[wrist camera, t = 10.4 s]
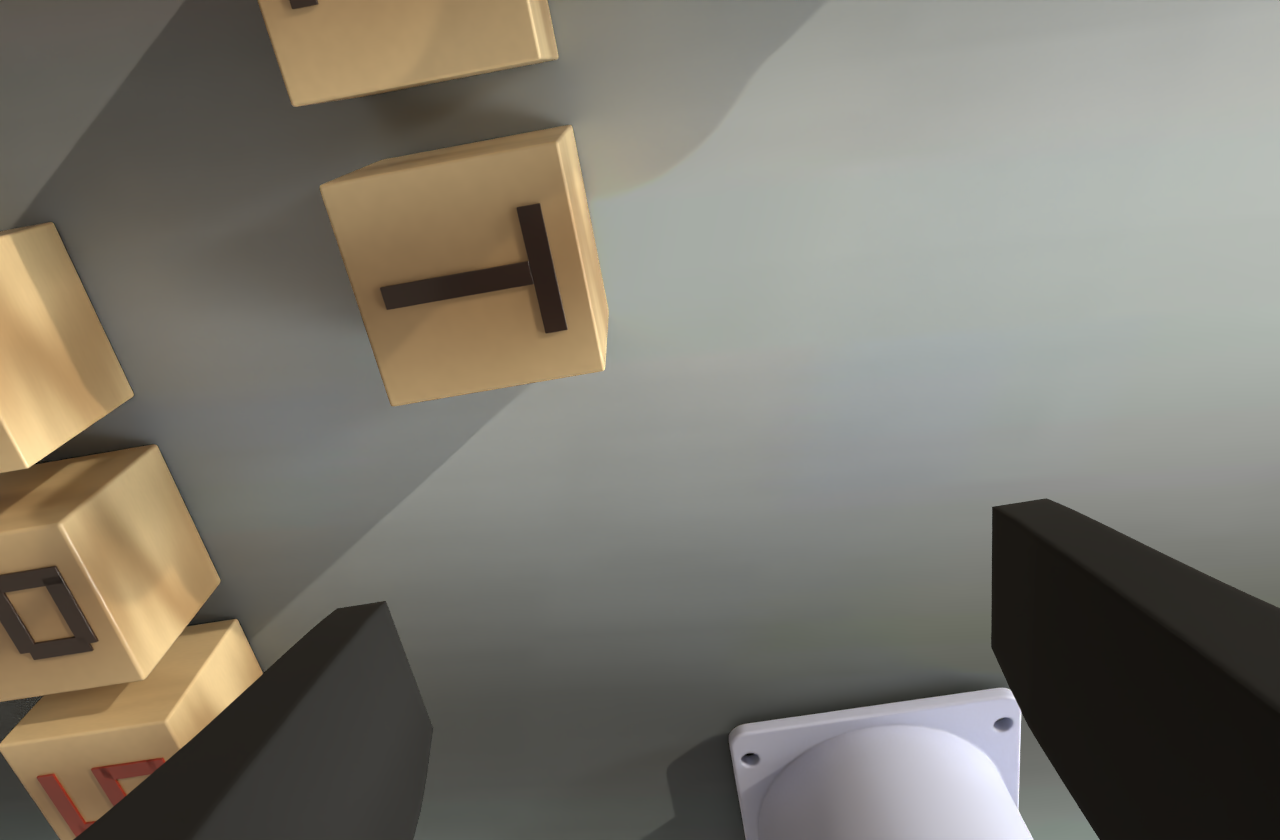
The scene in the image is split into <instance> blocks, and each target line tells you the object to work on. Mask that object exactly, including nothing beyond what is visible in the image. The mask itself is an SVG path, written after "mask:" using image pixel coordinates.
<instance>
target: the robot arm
mask: <svg viewBox="0 0 1280 840" xmlns="http://www.w3.org/2000/svg"><path fill="white" fill-rule="evenodd" d="M991 647H992V650H993V652H994V654H995V656H996V658H997V661H998V663H999V665H1000V667H1001V669H1002V672H1003V674H1004V676H1005V678H1006V680H1007V683H1008V685H1009V687H1010V689H1011V690H1010V689H1007V688H993V689H986V690H979V691H972V692H965V693H958V694H951V695H944V696H937V697H930V698H923V699H916V700H909V701H902V702H895V703H888V704H881V705H874V706H867V707H860V708H853V709H846V710H839V711H832V712H825V713H818V714H811V715H804V716H797V717H790V718H783V719H776V720H769V721H762V722H755V723H748V724H743V725H739V726H737V727H735V728H734V729H733V730H732V731H731V732H730V734H729V745H730V751H731V757H732V763H733V769H734V775H735V780H736V786H737V792H738V798H739V804H740V809H741V815H742V821H743V827H744V833H745V838H746V840H1033V838H1032V836H1031V834H1030V832H1029V830H1028V828H1027V826H1026V824H1025V822H1024V821H1023V819H1022V817H1021V815H1020V813H1019V811H1018V805H1019V769H1020V733H1021V712H1022V714H1023V716H1024V718H1025V720H1026V722H1027V724H1028V726H1029V728H1030V729H1031V731H1032V733H1033V734H1034V736H1035V738H1036V739H1037V741H1038V743H1039V744H1040V746H1041V747H1042V749H1043V751H1044V752H1045V754H1046V755H1047V757H1048V759H1049V760H1050V762H1051V763H1052V765H1053V767H1054V768H1055V770H1056V771H1057V773H1058V775H1059V776H1060V778H1061V779H1062V781H1063V783H1064V784H1065V786H1066V787H1067V789H1068V791H1069V792H1070V794H1071V795H1072V797H1073V798H1074V800H1075V802H1076V803H1077V805H1078V806H1079V808H1080V809H1081V811H1082V813H1083V814H1084V816H1085V817H1086V819H1087V820H1088V822H1089V823H1090V825H1091V827H1092V828H1093V830H1094V831H1095V833H1096V834H1097V836H1098V838H1099V839H1100V840H1280V608H1278V607H1276V606H1274V605H1271V604H1269V603H1267V602H1265V601H1262V600H1260V599H1258V598H1256V597H1254V596H1251V595H1249V594H1247V593H1245V592H1243V591H1240V590H1238V589H1236V588H1234V587H1232V586H1230V585H1228V584H1225V583H1223V582H1221V581H1219V580H1217V579H1215V578H1213V577H1211V576H1208V575H1206V574H1204V573H1202V572H1200V571H1198V570H1196V569H1194V568H1192V567H1190V566H1188V565H1185V564H1183V563H1181V562H1179V561H1177V560H1175V559H1173V558H1171V557H1169V556H1167V555H1165V554H1163V553H1161V552H1159V551H1157V550H1155V549H1153V548H1151V547H1149V546H1147V545H1144V544H1142V543H1140V542H1138V541H1136V540H1134V539H1132V538H1130V537H1128V536H1126V535H1124V534H1122V533H1120V532H1118V531H1116V530H1114V529H1112V528H1110V527H1108V526H1106V525H1104V524H1102V523H1100V522H1098V521H1096V520H1093V519H1091V518H1089V517H1087V516H1085V515H1083V514H1081V513H1079V512H1077V511H1075V510H1072V509H1070V508H1068V507H1066V506H1063V505H1061V504H1059V503H1056V502H1054V501H1051V500H1049V499H1040V500H1034V501H1027V502H1021V503H1014V504H1008V505H1001V506H995V507H992V635H991ZM1003 717H1004V718H1003ZM1000 718H1003V719H1002V720H999V721H997V720H998V719H1000ZM432 733H433V727H432V724H431V721H430V719H429V716H428V713H427V710H426V708H425V705H424V702H423V700H422V697H421V694H420V692H419V689H418V686H417V684H416V681H415V678H414V676H413V673H412V670H411V668H410V665H409V662H408V659H407V657H406V654H405V651H404V649H403V646H402V643H401V641H400V638H399V635H398V633H397V630H396V627H395V625H394V622H393V619H392V617H391V614H390V611H389V608H388V606H387V603H386V601H383V602H377V603H370V604H364V605H357V606H351V607H344V608H338V609H336V610H335V611H333V612H332V613H331V614H330V615H328V616H327V617H326V618H325V619H323V620H322V621H321V622H320V623H319V624H317V625H316V626H315V627H314V628H313V629H312V630H310V631H309V632H308V633H307V634H306V635H305V636H304V637H303V638H301V639H300V640H299V641H298V642H297V643H296V644H295V645H294V646H293V647H292V648H290V649H289V650H288V651H287V652H286V653H285V654H284V655H283V656H282V657H281V658H280V659H279V660H277V661H276V662H275V663H274V664H273V665H272V666H271V667H270V668H269V669H268V670H267V671H266V672H264V673H263V674H262V675H261V676H260V677H259V678H258V679H257V680H256V681H255V682H254V683H253V684H252V685H250V686H249V687H248V688H247V689H246V690H245V691H244V692H243V693H242V694H241V695H240V696H238V697H237V698H236V699H235V700H234V701H233V702H232V703H231V704H230V705H229V706H228V707H226V708H225V709H224V710H223V711H222V712H221V713H220V714H219V715H218V716H217V717H216V718H214V719H213V720H212V721H211V722H210V723H209V724H208V725H207V726H206V727H205V728H204V729H202V730H201V731H200V732H199V733H198V734H197V735H196V736H195V737H194V738H193V739H191V740H190V741H189V742H188V743H187V744H186V745H184V746H183V747H182V748H181V749H180V750H179V751H177V752H176V753H175V754H174V755H173V756H172V757H171V758H169V759H168V760H167V761H166V762H165V763H164V764H162V765H161V766H160V767H159V768H158V769H157V770H155V771H154V772H153V773H152V774H151V775H150V776H148V777H147V778H146V779H145V780H144V781H143V782H141V783H140V784H139V785H138V786H137V787H136V788H135V789H133V790H132V791H131V792H130V793H129V794H128V795H126V796H125V797H124V798H123V799H122V800H121V801H119V802H118V803H117V804H116V805H115V806H114V807H112V808H111V809H110V810H109V811H108V812H107V813H105V814H104V815H103V816H102V817H101V818H99V819H98V820H97V821H96V822H94V823H93V824H92V825H91V826H90V827H88V828H87V829H86V830H85V831H83V832H82V833H81V834H80V835H78V836H77V837H76V838H75V839H73V840H413V838H414V834H415V831H416V827H417V823H418V819H419V816H420V812H421V807H422V801H423V795H424V789H425V783H426V777H427V770H428V763H429V755H430V748H431V741H432ZM748 753H754V754H753V755H750V756H744V755H745V754H748Z"/></svg>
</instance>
